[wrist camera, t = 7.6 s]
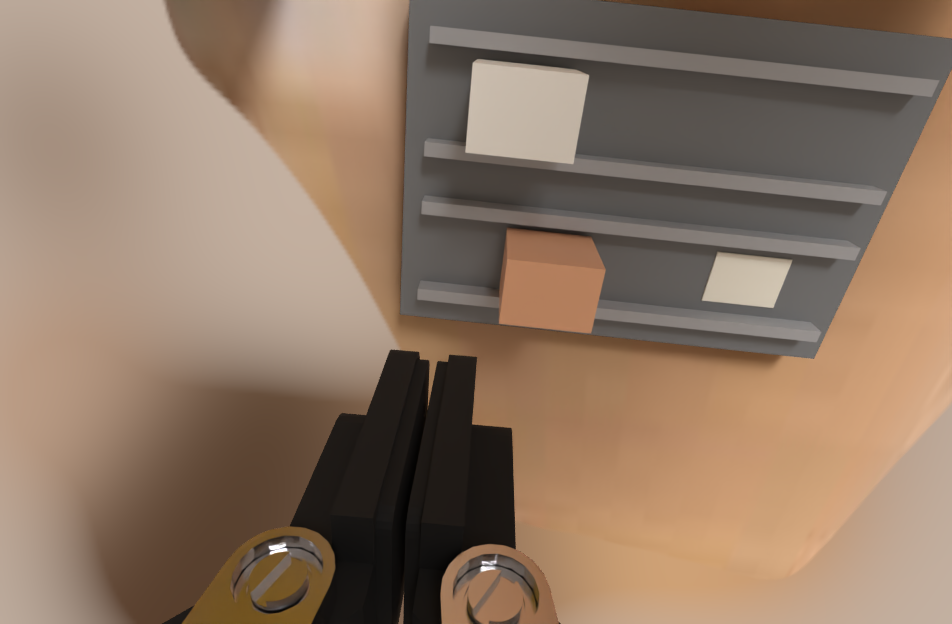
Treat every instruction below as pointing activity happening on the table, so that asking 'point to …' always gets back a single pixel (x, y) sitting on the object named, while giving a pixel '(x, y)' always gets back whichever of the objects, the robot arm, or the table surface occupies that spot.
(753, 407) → the table surface
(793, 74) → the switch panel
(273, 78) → the table surface
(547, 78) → the off-white block
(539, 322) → the orange cube
